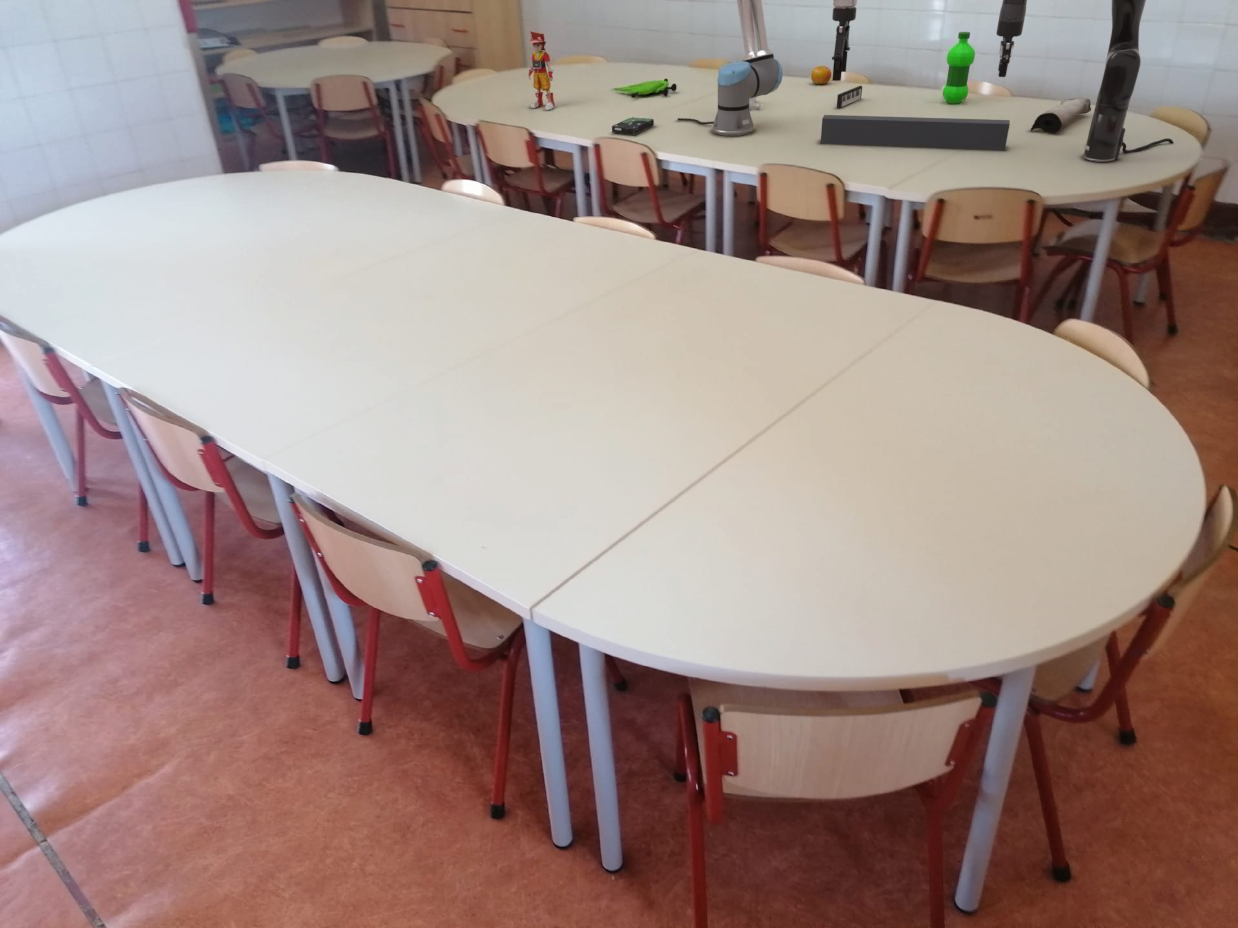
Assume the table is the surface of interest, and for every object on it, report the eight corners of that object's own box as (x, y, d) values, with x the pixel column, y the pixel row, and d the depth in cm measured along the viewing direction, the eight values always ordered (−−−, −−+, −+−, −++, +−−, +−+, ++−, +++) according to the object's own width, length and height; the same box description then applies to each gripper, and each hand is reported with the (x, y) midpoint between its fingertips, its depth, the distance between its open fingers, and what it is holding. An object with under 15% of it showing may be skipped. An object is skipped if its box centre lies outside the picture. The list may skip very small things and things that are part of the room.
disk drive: (634, 136, 338) (654, 126, 348) (634, 128, 336) (654, 118, 346) (611, 133, 343) (631, 123, 353) (611, 126, 341) (631, 116, 351)
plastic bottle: (973, 101, 354) (984, 32, 339) (955, 106, 349) (966, 36, 335) (952, 97, 361) (962, 29, 346) (934, 102, 356) (944, 33, 342)
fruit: (806, 77, 389) (817, 59, 386) (809, 80, 396) (820, 63, 393) (821, 87, 387) (833, 70, 384) (824, 90, 395) (835, 74, 392)
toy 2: (686, 85, 398) (631, 84, 414) (685, 72, 395) (629, 72, 411) (651, 104, 381) (596, 103, 397) (650, 92, 378) (594, 91, 394)
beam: (820, 143, 317) (822, 118, 312) (822, 140, 321) (824, 114, 316) (1004, 150, 300) (1009, 124, 295) (1004, 146, 304) (1009, 120, 299)
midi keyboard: (839, 108, 356) (840, 95, 353) (836, 108, 357) (837, 94, 354) (861, 99, 366) (862, 86, 363) (858, 98, 367) (859, 85, 364)
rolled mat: (1058, 102, 333) (1083, 85, 325) (1072, 123, 334) (1096, 106, 326) (1026, 124, 316) (1051, 107, 308) (1040, 146, 317) (1066, 129, 308)
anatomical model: (727, 81, 368) (751, 74, 367) (732, 106, 373) (755, 100, 373) (734, 89, 355) (759, 82, 354) (738, 116, 361) (763, 109, 360)
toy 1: (525, 109, 381) (517, 32, 364) (534, 104, 388) (527, 28, 371) (550, 110, 377) (543, 32, 360) (559, 105, 384) (553, 28, 367)
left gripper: (852, 13, 283) (845, 84, 295) (860, 1, 302) (854, 68, 314) (828, 13, 285) (822, 84, 297) (838, 1, 304) (832, 68, 316)
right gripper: (1025, 22, 274) (1014, 79, 283) (1023, 15, 285) (1013, 69, 294) (999, 22, 276) (989, 78, 285) (998, 15, 287) (989, 69, 296)
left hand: (839, 76), depth 305 cm, fingers open, 13 cm apart
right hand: (1001, 74), depth 290 cm, fingers open, 8 cm apart
